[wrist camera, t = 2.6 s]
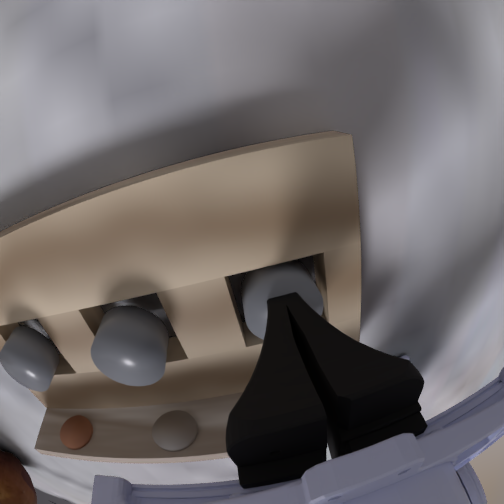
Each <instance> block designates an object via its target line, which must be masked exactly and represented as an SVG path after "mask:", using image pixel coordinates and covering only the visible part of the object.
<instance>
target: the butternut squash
mask: <svg viewBox="0 0 504 504" xmlns="http://www.w3.org/2000/svg"><path fill="white" fill-rule="evenodd" d="M0 504H37V496H36V492H35V489H34V486H33V484H32V481H31V478H30V476H29V474H28V472H27V471H26V470H25V468H24V467H23V465H22V464H21V462H20V460H19V459H18V458H16V457H15V456H14V455H13V454H12V453H9V452H6V451H5V452H3V451H1V450H0Z"/></svg>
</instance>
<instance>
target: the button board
mask: <svg viewBox="0 0 504 504" xmlns="http://www.w3.org/2000/svg"><path fill="white" fill-rule="evenodd" d="M311 255H313V261H314V270H315V280H316V286H317V288H318V289H319V291H320V293H321V295H322V298H323V303H324V307H323V312H322V315H321V317H323V318H324V319H325V320H326V321H327V322H329V323H330V324H331V325H333V326H334V327H335V328H337V329H338V330H340V331H341V332H343V333H344V334H346V335H348V336H349V337H351V338H353V339H354V340H356V341H358V342H359V339H360V317H361V238H360V216H359V200H358V187H357V176H356V165H355V156H354V147H353V139H352V135H350V134H346V133H341V132H337V131H327V132H320V133H314V134H308V135H301V136H296V137H290V138H284V139H279V140H274V141H269V142H264V143H259V144H254V145H249V146H245V147H240V148H236V149H232V150H227V151H223V152H219V153H215V154H211V155H207V156H203V157H199V158H196V159H192V160H188V161H185V162H181V163H177V164H174V165H170V166H167V167H164V168H160V169H157V170H154V171H151V172H147V173H144V174H141V175H138V176H135V177H132V178H129V179H126V180H123V181H120V182H117V183H114V184H111V185H109V186H106V187H103V188H100V189H98V190H95V191H92V192H90V193H87V194H84V195H82V196H79V197H77V198H74V199H72V200H69V201H67V202H64V203H62V204H59V205H57V206H55V207H52V208H50V209H48V210H45V211H43V212H41V213H38V214H36V215H34V216H32V217H30V218H27V219H25V220H23V221H21V222H19V223H17V224H15V225H13V226H11V227H9V228H7V229H5V230H3V231H1V232H0V351H1V350H2V348H3V346H4V344H5V343H6V341H7V340H8V338H9V336H10V335H11V333H12V332H13V330H14V329H15V328H16V327H18V326H20V325H19V324H18V322H22V321H27V320H32V319H37V318H38V320H39V322H40V323H41V325H42V326H43V328H44V329H45V331H46V332H47V334H48V335H49V337H50V338H51V340H52V341H53V342H54V344H55V345H56V347H57V348H58V349H59V351H60V352H61V353H62V354H58V355H59V364H58V366H57V369H56V371H55V374H54V376H53V379H52V381H51V384H50V386H49V388H48V390H46V391H43V392H39V391H34V390H31V389H29V388H28V389H29V390H30V391H31V392H32V393H33V394H34V395H35V396H36V397H37V398H38V399H39V400H40V401H41V402H42V404H43V405H44V406H45V407H46V408H47V410H46V413H45V416H44V419H43V422H42V425H41V428H40V431H39V435H38V438H37V441H36V445H35V448H34V449H36V450H37V451H38V452H40V453H41V454H45V455H50V456H56V457H63V458H70V459H77V460H86V461H97V462H111V463H179V462H194V461H205V460H214V459H223V458H230V457H229V456H228V454H227V451H226V439H225V438H226V427H227V421H228V417H229V413H230V412H231V410H232V409H233V407H234V406H235V404H236V403H237V401H238V400H239V398H240V397H241V395H242V393H243V392H244V390H245V388H246V386H247V384H248V382H249V380H250V378H251V376H252V374H253V372H254V369H255V367H256V364H257V362H258V359H259V356H260V352H261V349H262V345H263V341H264V340H263V339H261V338H259V337H257V336H255V335H254V334H253V333H252V332H251V331H250V330H249V328H248V326H247V324H246V322H242V320H241V316H240V313H239V310H238V307H237V303H236V300H235V297H234V293H233V290H232V287H231V283H230V280H229V276H230V275H234V274H238V273H242V272H246V271H250V270H255V269H259V268H263V267H267V266H271V265H275V264H279V263H283V262H287V261H291V260H295V259H299V258H303V257H307V256H311ZM152 293H157V295H158V297H159V299H160V302H161V304H162V306H163V308H164V310H165V312H166V315H167V317H168V319H169V321H170V323H171V325H172V327H173V329H174V331H175V333H176V335H177V336H176V337H170V338H169V341H168V349H167V357H166V366H165V372H164V375H163V377H162V378H161V379H160V380H159V381H157V382H155V383H153V384H151V385H146V386H130V385H125V384H122V383H119V382H116V381H114V380H112V379H110V378H109V377H107V376H106V375H104V374H103V373H102V372H101V371H100V370H99V369H98V368H97V367H96V365H95V364H94V362H93V360H92V358H91V346H92V343H93V341H94V338H95V336H96V333H97V331H98V328H99V326H100V323H101V321H102V318H103V316H104V315H105V314H104V312H103V310H102V308H101V306H100V305H103V304H108V303H112V302H117V301H121V300H126V299H130V298H135V297H139V296H144V295H148V294H152Z"/></svg>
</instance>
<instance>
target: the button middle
mask: <svg viewBox="0 0 504 504" xmlns="http://www.w3.org/2000/svg"><path fill="white" fill-rule="evenodd" d="M168 341H169V335H168V331H167V328H166V327H165V325H164V323H163V322H162V321H161V320H160V319H159V318H158V317H157V316H156V315H154V314H153V313H151V312H149V311H147V310H145V309H143V308H140V307H136V306H128V305H126V306H118V307H115V308H112V309H110V310H109V311H108V312H107V313H106V314H105V315H104V316H103V318H102V321H101V323H100V326H99V328H98V331H97V333H96V336H95V338H94V341H93V343H92V346H91V358H92V360H93V362H94V364H95V365H96V367H97V368H98V369H99V370H100V371H101V372H102V373H103V374H104V375H106V376H107V377H109V378H110V379H112V380H114V381H116V382H119V383H122V384H125V385H130V386H146V385H151V384H153V383H155V382H157V381H159V380H160V379H161V378H162V377H163V375H164V372H165V366H166V357H167V349H168Z"/></svg>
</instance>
